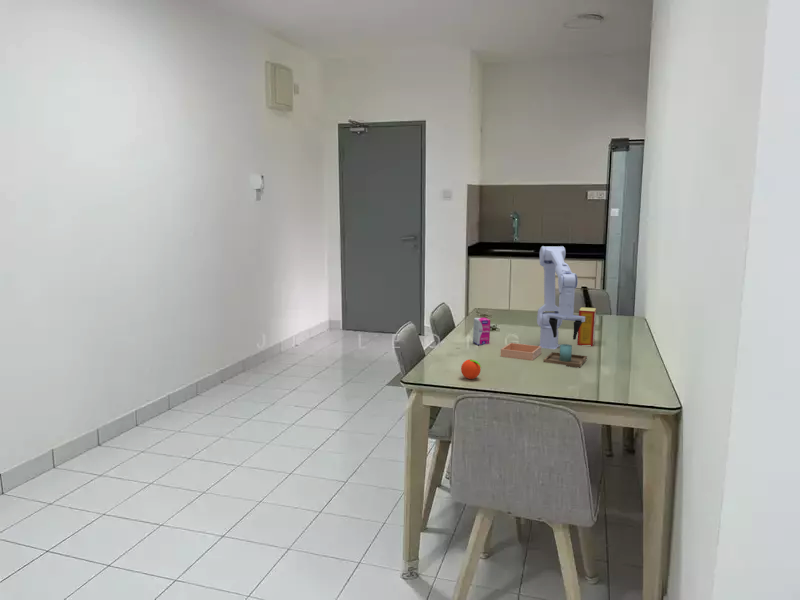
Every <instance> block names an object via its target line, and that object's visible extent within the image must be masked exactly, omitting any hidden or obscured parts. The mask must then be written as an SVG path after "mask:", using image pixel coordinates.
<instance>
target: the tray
mask: <svg viewBox="0 0 800 600" xmlns="http://www.w3.org/2000/svg"><path fill="white" fill-rule="evenodd" d="M559 359H560V352H554V351H552V352H551V353H550V354H548V355H547V356H546V357H545V358H543V360H542V361H543V363H547V364H556V365H561V366H562V365H563V366H565V367H569V366H570V367H569V368H577V367H579V368H581V367H582V366H583V365H584V364H585V363H586V361H587V360H588V356H587V355H580V354H571V361H570V362H563V361H560V360H559ZM586 359H587V360H586ZM583 363H584V364H583ZM582 364H583V365H582ZM581 365H582V366H581Z"/></svg>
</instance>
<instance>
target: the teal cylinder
mask: <svg viewBox="0 0 800 600" xmlns="http://www.w3.org/2000/svg"><path fill="white" fill-rule="evenodd" d="M572 346H573V345H572V344H566V343H564V344H563V343H562V344H560V346H559V353H560V359H559V360H560V361H563V362H570V361H571V354H572V350H573V347H572Z"/></svg>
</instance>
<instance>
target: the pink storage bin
mask: <svg viewBox="0 0 800 600" xmlns="http://www.w3.org/2000/svg"><path fill="white" fill-rule="evenodd" d="M541 354H542V348H541V346H539V345H532V344H524V343H516V342H510V343H508V344H506V345H504V347H502V348H500V357H503V358H508V359H509V358H511V359H517V360H525V361H534V360H535V359H536V358H537V357H539V356H540V355H541Z"/></svg>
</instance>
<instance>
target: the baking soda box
mask: <svg viewBox="0 0 800 600" xmlns="http://www.w3.org/2000/svg"><path fill="white" fill-rule="evenodd" d="M596 314H597V308H596V307H583V306H581V307H580V308H579V309H578V316H584V317H585V322H582V324H581V326H580V328H579V330H578V333H577V341H576V342H577V344H576V345H577V346H582V345H591V346H590V347H593V346H594V344H595V335H596V334H595V333H596V316H597V315H596ZM593 343H594V344H593Z"/></svg>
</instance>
